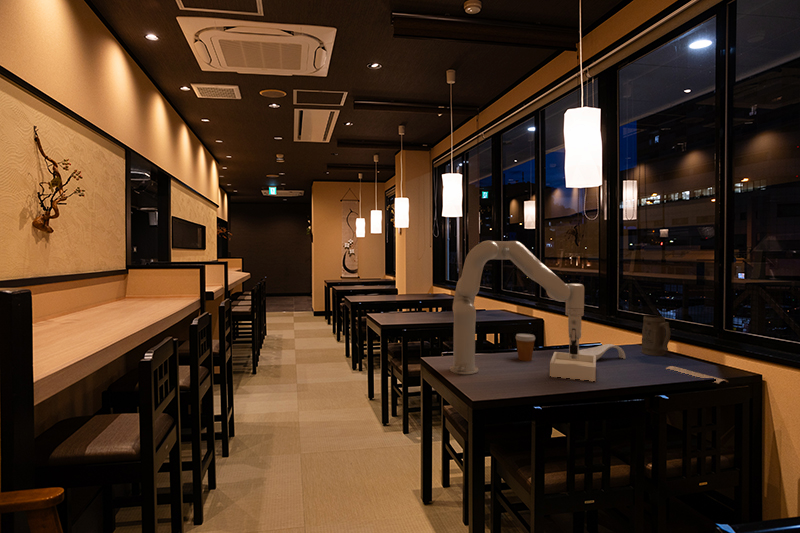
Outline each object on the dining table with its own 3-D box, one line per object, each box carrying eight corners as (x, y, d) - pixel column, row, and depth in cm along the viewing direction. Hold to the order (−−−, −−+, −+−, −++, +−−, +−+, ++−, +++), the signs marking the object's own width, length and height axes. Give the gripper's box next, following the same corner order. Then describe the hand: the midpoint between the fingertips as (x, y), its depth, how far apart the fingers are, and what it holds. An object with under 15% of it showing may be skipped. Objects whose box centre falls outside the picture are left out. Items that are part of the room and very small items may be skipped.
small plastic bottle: (578, 359, 200) (579, 336, 200) (568, 358, 202) (569, 335, 202) (578, 357, 204) (579, 334, 204) (569, 356, 206) (569, 334, 205)
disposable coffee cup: (537, 362, 221) (537, 337, 221) (517, 361, 222) (517, 337, 221) (532, 357, 231) (532, 333, 230) (513, 357, 231) (513, 333, 231)
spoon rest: (584, 363, 221) (585, 348, 220) (572, 357, 232) (572, 343, 232) (630, 361, 224) (630, 346, 224) (615, 355, 236) (615, 341, 235)
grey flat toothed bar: (665, 370, 209) (665, 366, 209) (676, 369, 212) (676, 365, 212) (718, 385, 188) (719, 381, 188) (730, 383, 190) (730, 379, 190)
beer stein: (635, 351, 242) (638, 314, 240) (649, 349, 247) (652, 313, 245) (662, 360, 229) (666, 321, 226) (676, 358, 233) (680, 319, 231)
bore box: (595, 381, 190) (595, 367, 190) (549, 376, 197) (549, 362, 197) (595, 368, 210) (595, 355, 210) (554, 364, 217) (554, 351, 217)
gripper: (583, 314, 193) (582, 358, 194) (584, 309, 208) (583, 349, 209) (564, 313, 196) (563, 356, 197) (566, 308, 211) (566, 348, 212)
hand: (573, 352), depth 203 cm, fingers closed on small plastic bottle, 4 cm apart
